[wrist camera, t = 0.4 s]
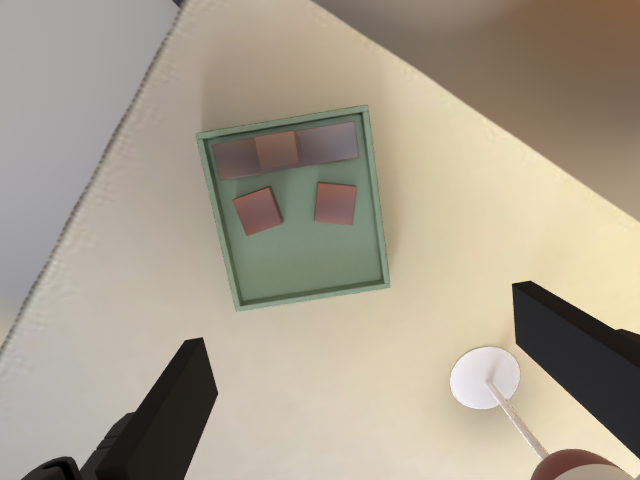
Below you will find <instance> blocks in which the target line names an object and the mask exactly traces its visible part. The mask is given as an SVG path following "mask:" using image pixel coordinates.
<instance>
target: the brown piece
mask: <svg viewBox="0 0 640 480" xmlns="http://www.w3.org/2000/svg"><path fill="white" fill-rule="evenodd" d="M212 148H213V153H214V158H215V162H216V167H217V171H218V176H219V180H226V179H232V178H238V177H244V176H250V175H256V174H262V173H268V172H274V171H281V170H287V169H293V168H299V167H305V166H311V165H317V164H323V163H329V162H335V161H341V160H347V159H354V158H359V150H358V143H357V135H356V128H355V121H350V122H344V123H338V124H332V125H326V126H320V127H314V128H308V129H302V130H296V131H294V130H290V131H284V132H277V133H271V134H265V135H259V136H255V137H254V138H248V139H242V140H236V141H230V142H224V143H218V144H212Z"/></svg>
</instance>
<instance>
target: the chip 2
mask: <svg viewBox="0 0 640 480" xmlns="http://www.w3.org/2000/svg"><path fill="white" fill-rule="evenodd" d="M356 193H357V186H355V185H348V184H338V183H329V182H319V181H318V184H317V194H316V204H315V214H314V222H324V223H334V224H344V225H353V217H354V209H355V201H356Z"/></svg>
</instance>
